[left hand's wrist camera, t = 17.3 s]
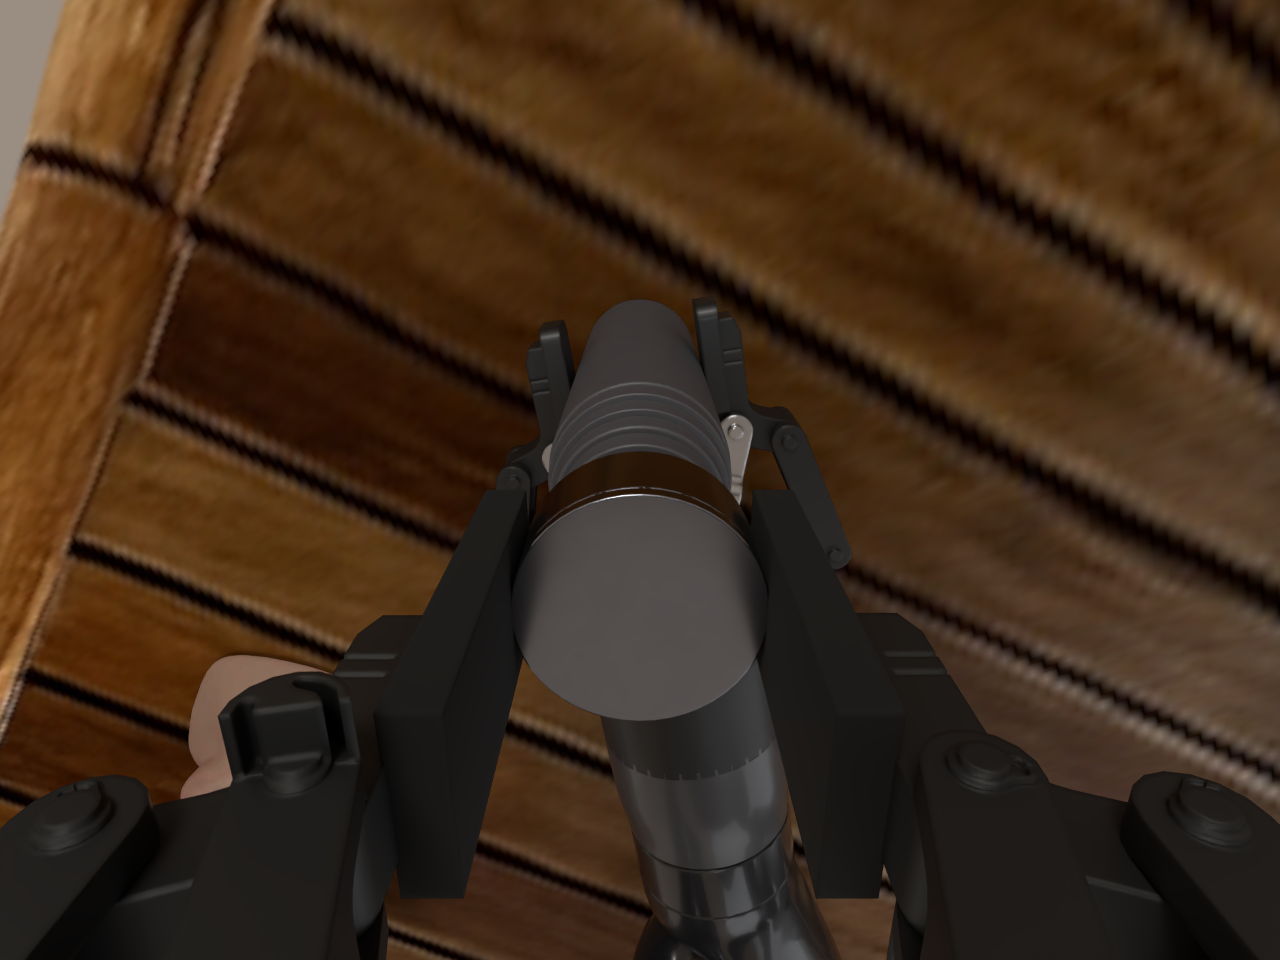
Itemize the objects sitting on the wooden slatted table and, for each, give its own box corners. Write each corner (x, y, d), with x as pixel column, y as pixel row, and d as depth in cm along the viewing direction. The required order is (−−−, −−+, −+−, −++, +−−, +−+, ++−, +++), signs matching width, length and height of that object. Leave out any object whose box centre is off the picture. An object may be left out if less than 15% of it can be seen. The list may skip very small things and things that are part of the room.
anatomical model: (115, 704, 34) (369, 702, 34) (167, 654, 38) (396, 652, 38) (181, 918, 39) (405, 916, 39) (221, 855, 43) (425, 853, 43)
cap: (505, 623, 15) (484, 689, 13) (557, 422, 14) (543, 463, 12) (712, 673, 16) (722, 745, 14) (784, 484, 14) (808, 533, 12)
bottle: (624, 277, 32) (598, 423, 12) (713, 337, 33) (827, 566, 13) (567, 368, 33) (459, 632, 13) (654, 423, 34) (675, 748, 14)
